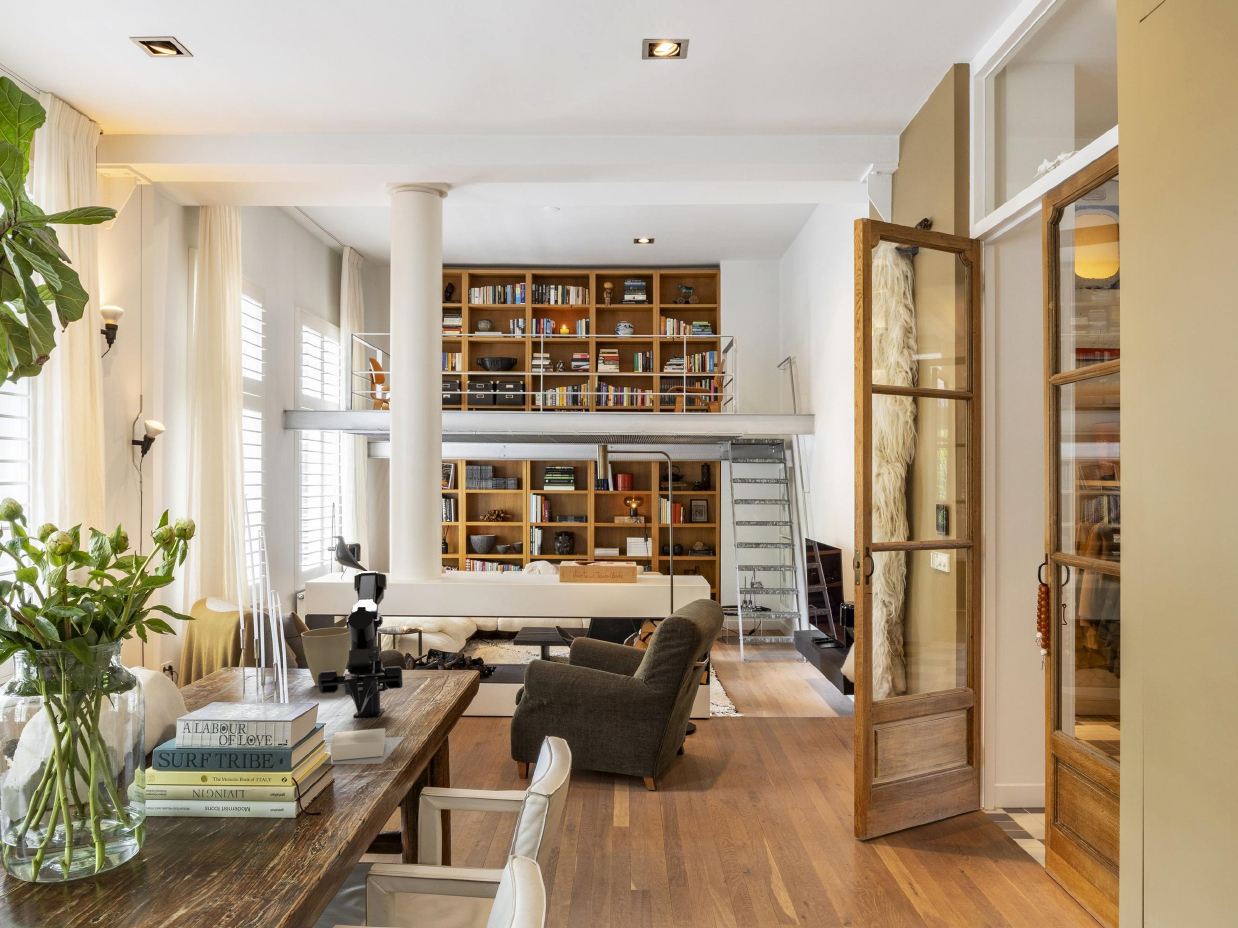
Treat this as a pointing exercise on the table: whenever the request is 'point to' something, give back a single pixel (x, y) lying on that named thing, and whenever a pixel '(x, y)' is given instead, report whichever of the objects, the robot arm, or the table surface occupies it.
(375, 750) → the cream block
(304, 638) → the plant pot
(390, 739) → the mat
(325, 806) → the table surface
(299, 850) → the table surface
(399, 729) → the table surface
